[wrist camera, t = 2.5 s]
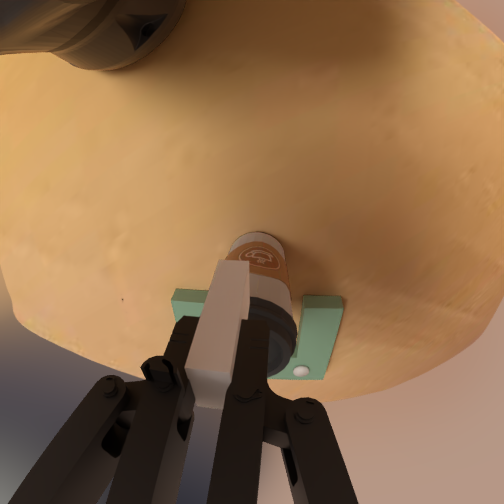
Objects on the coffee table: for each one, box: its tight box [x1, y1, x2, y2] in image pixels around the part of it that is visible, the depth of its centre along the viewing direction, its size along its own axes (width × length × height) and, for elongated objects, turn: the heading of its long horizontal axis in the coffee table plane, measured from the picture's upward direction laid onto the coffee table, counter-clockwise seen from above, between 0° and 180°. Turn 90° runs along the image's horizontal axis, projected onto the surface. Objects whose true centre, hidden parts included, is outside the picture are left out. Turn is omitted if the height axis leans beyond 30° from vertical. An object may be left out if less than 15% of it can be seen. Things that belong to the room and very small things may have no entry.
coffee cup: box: [200, 232, 297, 378], centre depth 28 cm, size 8×8×15 cm
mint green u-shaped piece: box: [171, 289, 344, 380], centre depth 40 cm, size 16×22×3 cm
